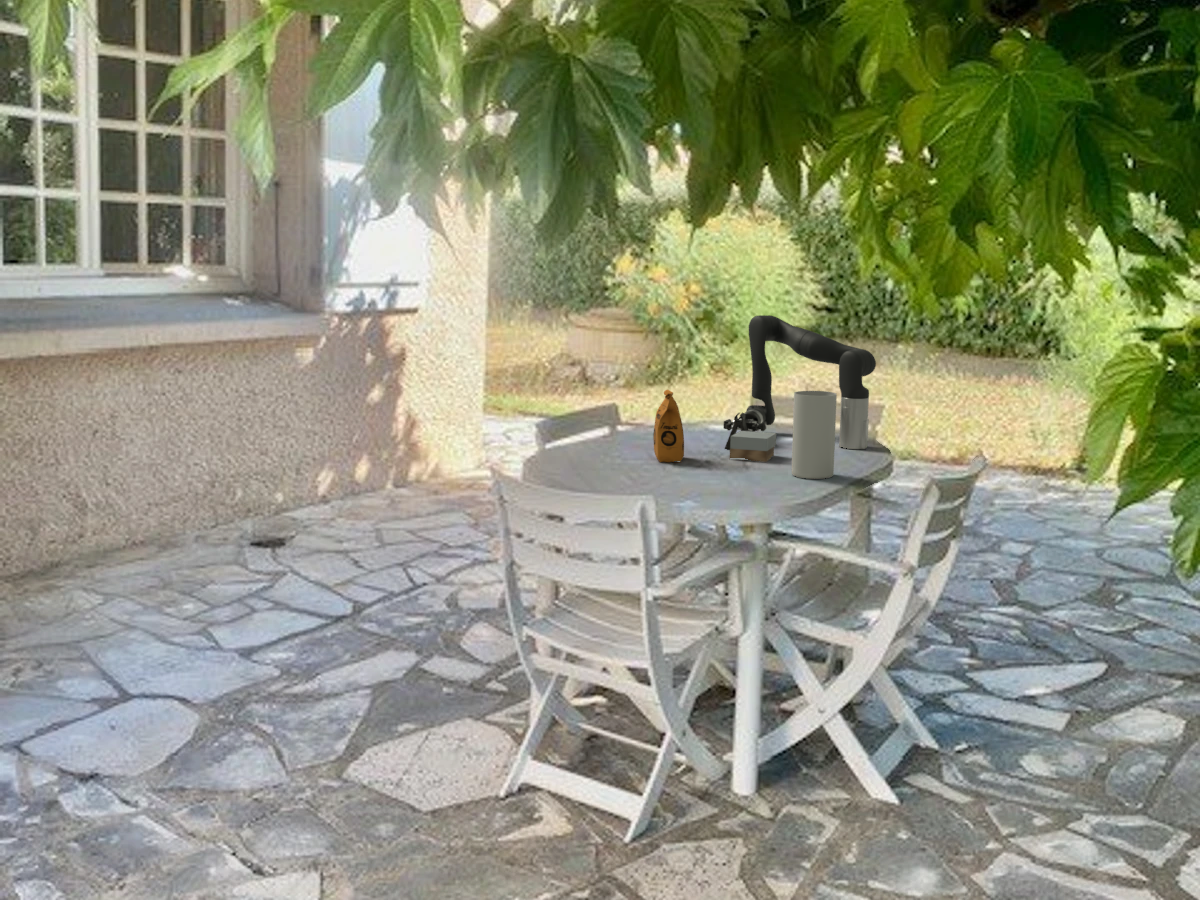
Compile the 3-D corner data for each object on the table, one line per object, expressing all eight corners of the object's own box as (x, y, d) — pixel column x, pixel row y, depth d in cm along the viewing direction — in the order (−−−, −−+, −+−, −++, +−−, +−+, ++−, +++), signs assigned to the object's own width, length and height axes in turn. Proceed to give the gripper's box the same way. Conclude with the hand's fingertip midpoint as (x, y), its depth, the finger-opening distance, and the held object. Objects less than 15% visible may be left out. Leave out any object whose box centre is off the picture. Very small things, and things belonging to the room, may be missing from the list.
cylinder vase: (829, 481, 370) (832, 397, 366) (787, 477, 375) (790, 394, 370) (836, 473, 382) (840, 391, 377) (796, 470, 386) (798, 389, 382)
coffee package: (652, 462, 398) (653, 393, 394) (653, 455, 410) (654, 388, 406) (684, 463, 397) (685, 394, 393) (683, 456, 409) (685, 389, 405)
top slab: (776, 445, 410) (776, 433, 409) (766, 451, 399) (767, 438, 398) (740, 442, 415) (740, 430, 414) (730, 448, 404) (730, 436, 403)
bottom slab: (773, 456, 412) (774, 444, 411) (766, 463, 400) (766, 450, 400) (737, 454, 415) (738, 442, 415) (729, 460, 404) (729, 448, 404)
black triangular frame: (724, 449, 423) (725, 414, 420) (727, 446, 428) (728, 411, 426) (751, 450, 420) (752, 415, 418) (753, 447, 426) (754, 412, 424)
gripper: (731, 409, 442) (720, 416, 427) (771, 412, 437) (761, 418, 422) (730, 430, 443) (719, 437, 428) (770, 433, 439) (761, 440, 423)
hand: (740, 428), depth 425 cm, fingers open, 8 cm apart
